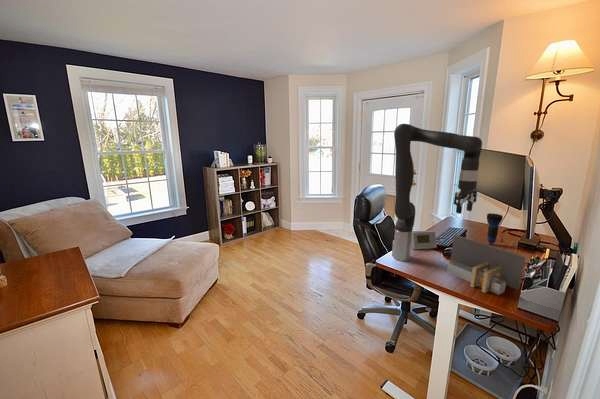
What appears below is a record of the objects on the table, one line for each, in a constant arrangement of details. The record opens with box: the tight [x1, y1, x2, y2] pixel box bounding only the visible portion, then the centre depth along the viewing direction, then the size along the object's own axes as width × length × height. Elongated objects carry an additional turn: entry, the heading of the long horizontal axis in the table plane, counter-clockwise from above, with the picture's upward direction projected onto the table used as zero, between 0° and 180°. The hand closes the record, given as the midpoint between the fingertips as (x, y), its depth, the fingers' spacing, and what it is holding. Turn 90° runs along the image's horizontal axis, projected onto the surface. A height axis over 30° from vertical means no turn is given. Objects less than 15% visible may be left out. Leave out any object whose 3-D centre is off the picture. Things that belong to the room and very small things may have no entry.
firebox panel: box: [449, 234, 526, 291], centre depth 131 cm, size 32×1×16 cm, turn 28°
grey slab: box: [446, 261, 507, 296], centre depth 127 cm, size 24×5×5 cm, turn 28°
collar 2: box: [481, 266, 503, 294], centre depth 119 cm, size 2×12×10 cm, turn 118°
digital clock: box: [411, 230, 438, 250], centre depth 166 cm, size 16×9×11 cm, turn 84°
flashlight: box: [486, 212, 504, 246], centre depth 168 cm, size 8×8×20 cm
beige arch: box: [469, 262, 491, 288], centre depth 124 cm, size 2×12×10 cm, turn 118°
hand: (463, 211), depth 129 cm, fingers open, 8 cm apart
